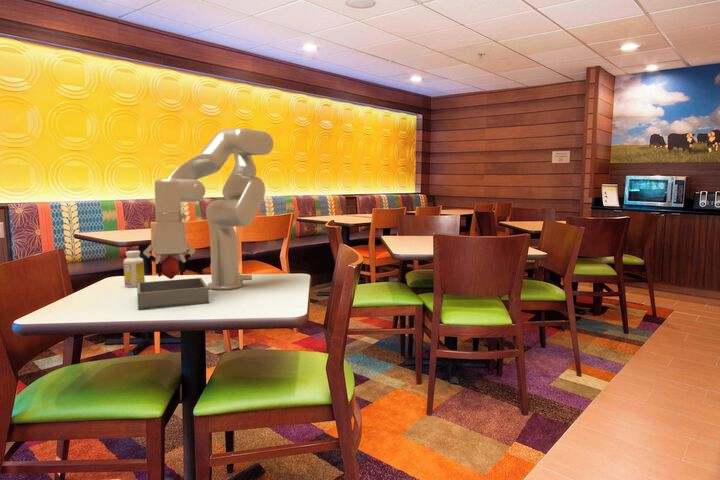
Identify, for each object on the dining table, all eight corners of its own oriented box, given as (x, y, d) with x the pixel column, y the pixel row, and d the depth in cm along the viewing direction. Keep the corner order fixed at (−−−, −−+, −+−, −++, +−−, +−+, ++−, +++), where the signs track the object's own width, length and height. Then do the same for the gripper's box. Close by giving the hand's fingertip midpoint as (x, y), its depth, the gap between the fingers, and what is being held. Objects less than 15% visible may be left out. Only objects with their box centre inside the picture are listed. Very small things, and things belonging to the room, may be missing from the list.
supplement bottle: (145, 283, 182) (144, 249, 181) (143, 287, 176) (142, 252, 174) (126, 284, 180) (124, 250, 179) (123, 288, 174) (121, 252, 172)
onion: (173, 280, 150) (172, 255, 149) (157, 280, 151) (156, 254, 150) (184, 277, 156) (183, 253, 155) (168, 277, 157) (167, 252, 156)
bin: (201, 292, 167) (201, 277, 166) (208, 303, 150) (208, 287, 150) (138, 297, 158) (137, 282, 158) (138, 310, 142) (137, 293, 142)
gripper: (196, 217, 159) (197, 271, 160) (138, 218, 151) (140, 275, 153) (198, 218, 152) (200, 275, 153) (138, 219, 145) (141, 279, 146)
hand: (170, 274), depth 153 cm, fingers closed on onion, 5 cm apart
